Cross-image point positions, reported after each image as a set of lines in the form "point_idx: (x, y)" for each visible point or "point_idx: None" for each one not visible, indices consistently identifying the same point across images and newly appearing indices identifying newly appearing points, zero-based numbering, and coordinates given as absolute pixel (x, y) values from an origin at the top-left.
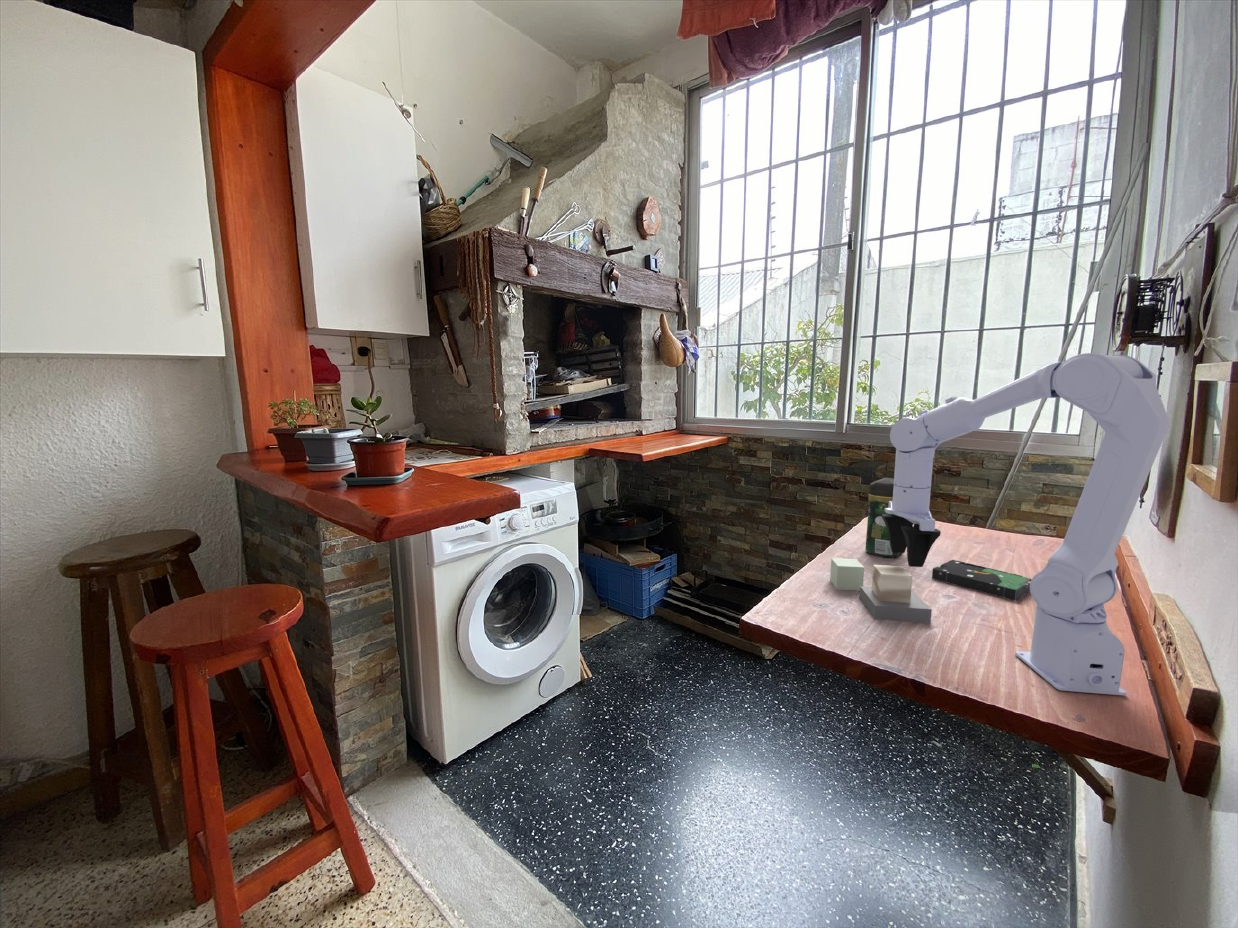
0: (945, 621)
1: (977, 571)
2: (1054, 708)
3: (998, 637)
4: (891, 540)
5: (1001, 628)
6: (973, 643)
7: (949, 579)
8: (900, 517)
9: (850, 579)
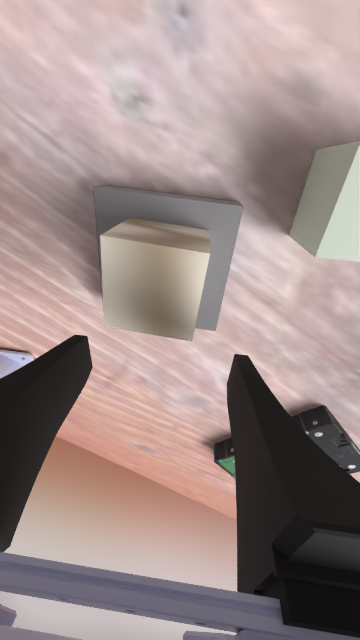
0: None
1: None
2: None
3: None
4: (245, 387)
5: (116, 383)
6: (50, 323)
7: (296, 421)
8: (262, 568)
9: (314, 201)
